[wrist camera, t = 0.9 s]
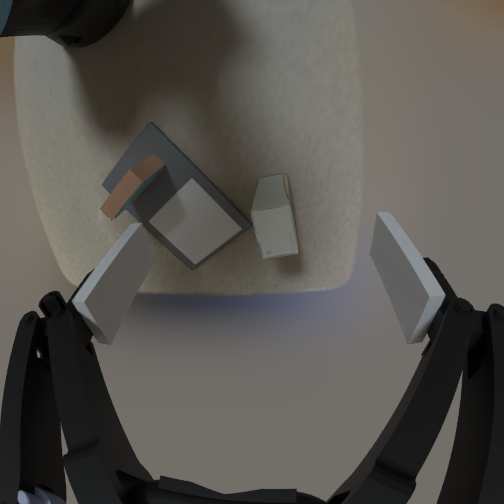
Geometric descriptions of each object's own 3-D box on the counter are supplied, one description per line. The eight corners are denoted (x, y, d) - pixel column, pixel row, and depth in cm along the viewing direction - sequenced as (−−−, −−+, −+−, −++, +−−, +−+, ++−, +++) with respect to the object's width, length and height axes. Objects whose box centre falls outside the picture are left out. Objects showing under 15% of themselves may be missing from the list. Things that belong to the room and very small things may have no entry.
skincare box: (294, 210, 41) (300, 255, 30) (265, 215, 41) (262, 261, 31) (287, 171, 37) (292, 204, 27) (256, 176, 38) (249, 211, 28)
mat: (103, 183, 40) (101, 184, 39) (151, 121, 34) (150, 122, 34) (192, 268, 48) (191, 270, 47) (251, 223, 42) (251, 225, 42)
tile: (125, 188, 40) (99, 209, 33) (154, 153, 36) (129, 169, 30) (136, 198, 41) (112, 221, 34) (166, 165, 37) (143, 183, 31)
